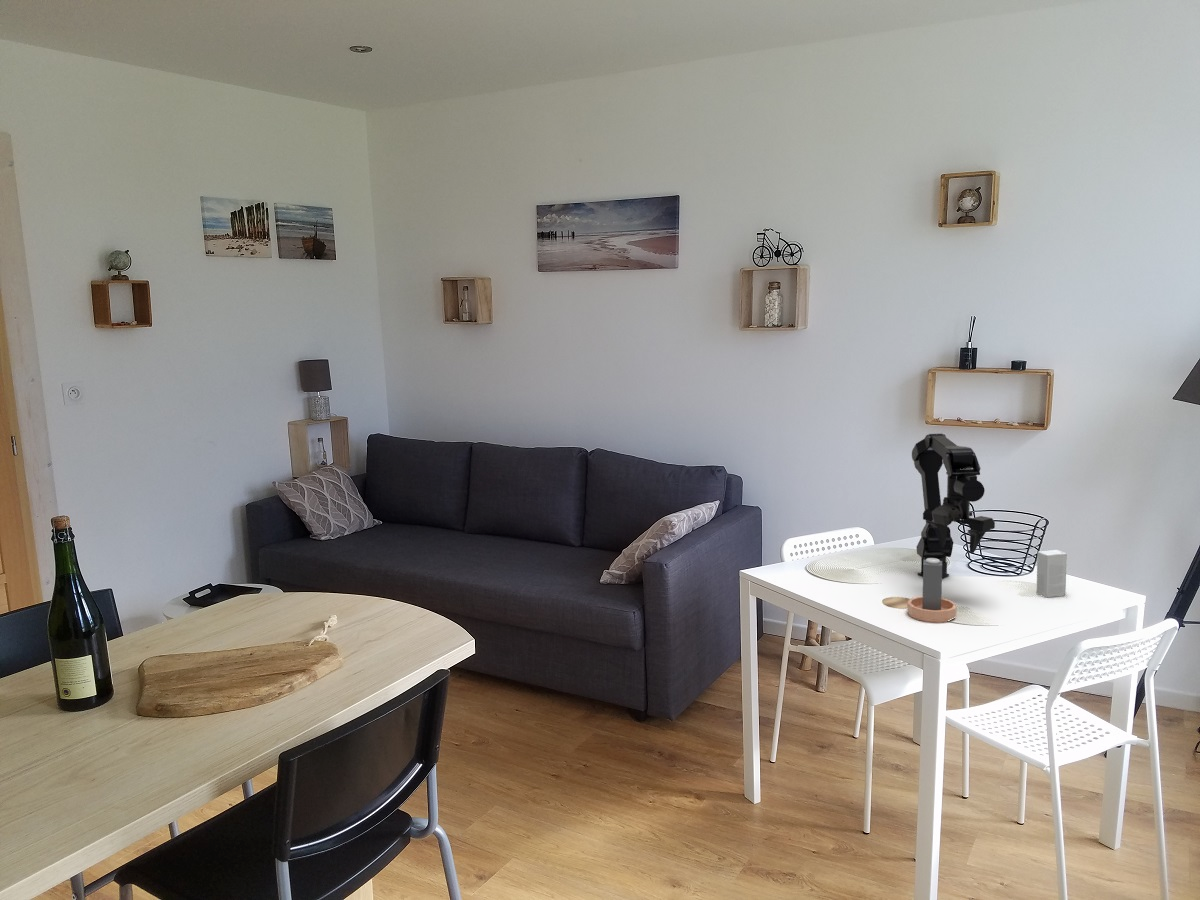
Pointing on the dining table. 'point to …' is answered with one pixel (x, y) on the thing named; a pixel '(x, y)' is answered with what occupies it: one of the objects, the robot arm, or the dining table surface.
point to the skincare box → (1051, 573)
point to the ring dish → (931, 611)
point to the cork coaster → (896, 602)
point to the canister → (932, 584)
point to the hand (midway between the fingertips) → (957, 549)
